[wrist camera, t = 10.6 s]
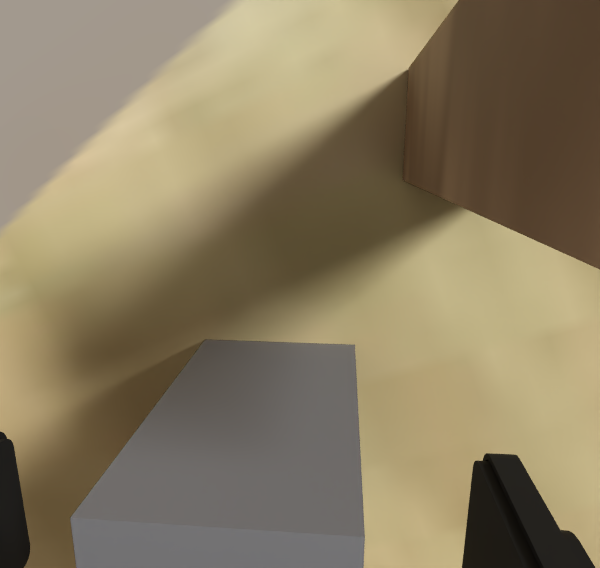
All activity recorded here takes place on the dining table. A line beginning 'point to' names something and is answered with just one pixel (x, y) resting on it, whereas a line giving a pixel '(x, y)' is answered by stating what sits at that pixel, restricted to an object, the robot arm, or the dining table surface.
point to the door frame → (513, 118)
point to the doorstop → (237, 467)
